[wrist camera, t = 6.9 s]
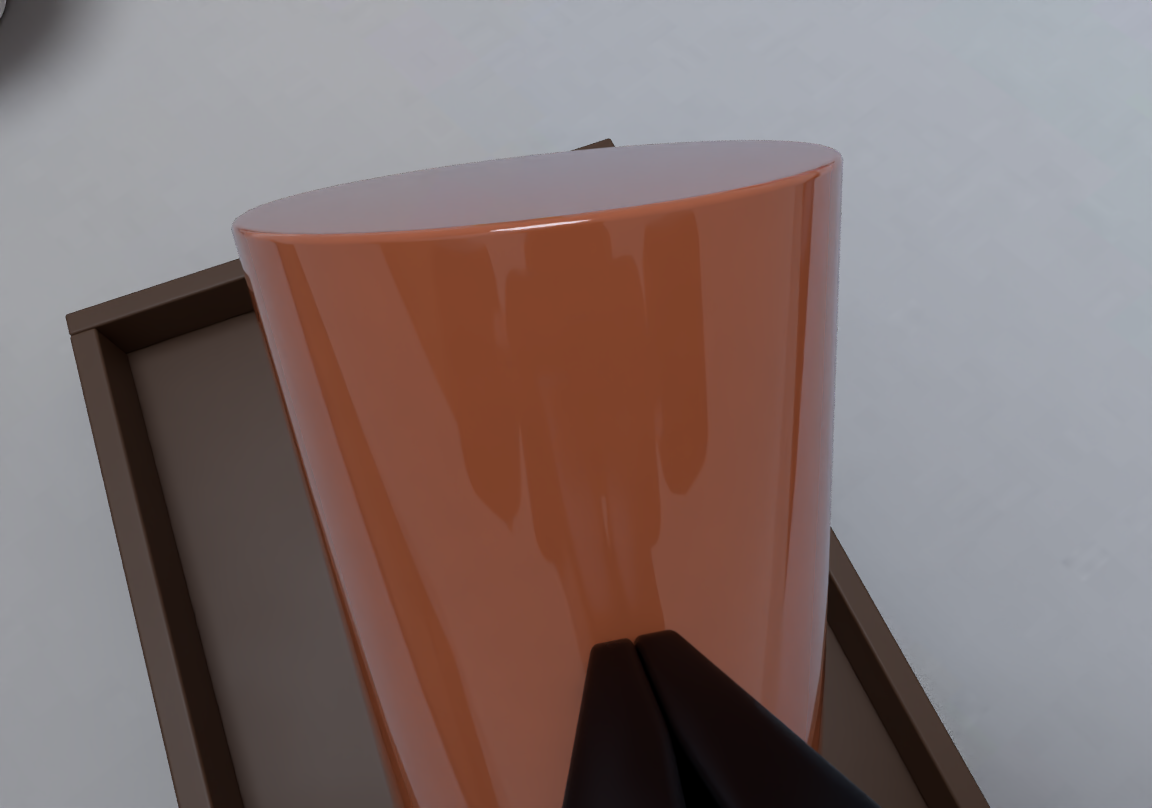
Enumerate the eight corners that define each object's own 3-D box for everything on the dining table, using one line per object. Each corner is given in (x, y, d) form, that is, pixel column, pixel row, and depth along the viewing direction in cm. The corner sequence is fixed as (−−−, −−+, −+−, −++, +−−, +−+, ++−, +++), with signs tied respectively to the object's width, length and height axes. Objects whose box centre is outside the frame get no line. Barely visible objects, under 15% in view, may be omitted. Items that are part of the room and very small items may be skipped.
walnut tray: (1027, 964, 16) (1106, 1007, 13) (373, 1383, 13) (340, 1519, 11) (603, 190, 22) (610, 136, 20) (115, 356, 20) (63, 313, 17)
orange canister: (916, 901, 11) (1003, 144, 7) (477, 1159, 9) (217, 278, 5) (683, 632, 17) (654, 136, 13) (384, 747, 15) (233, 195, 11)
